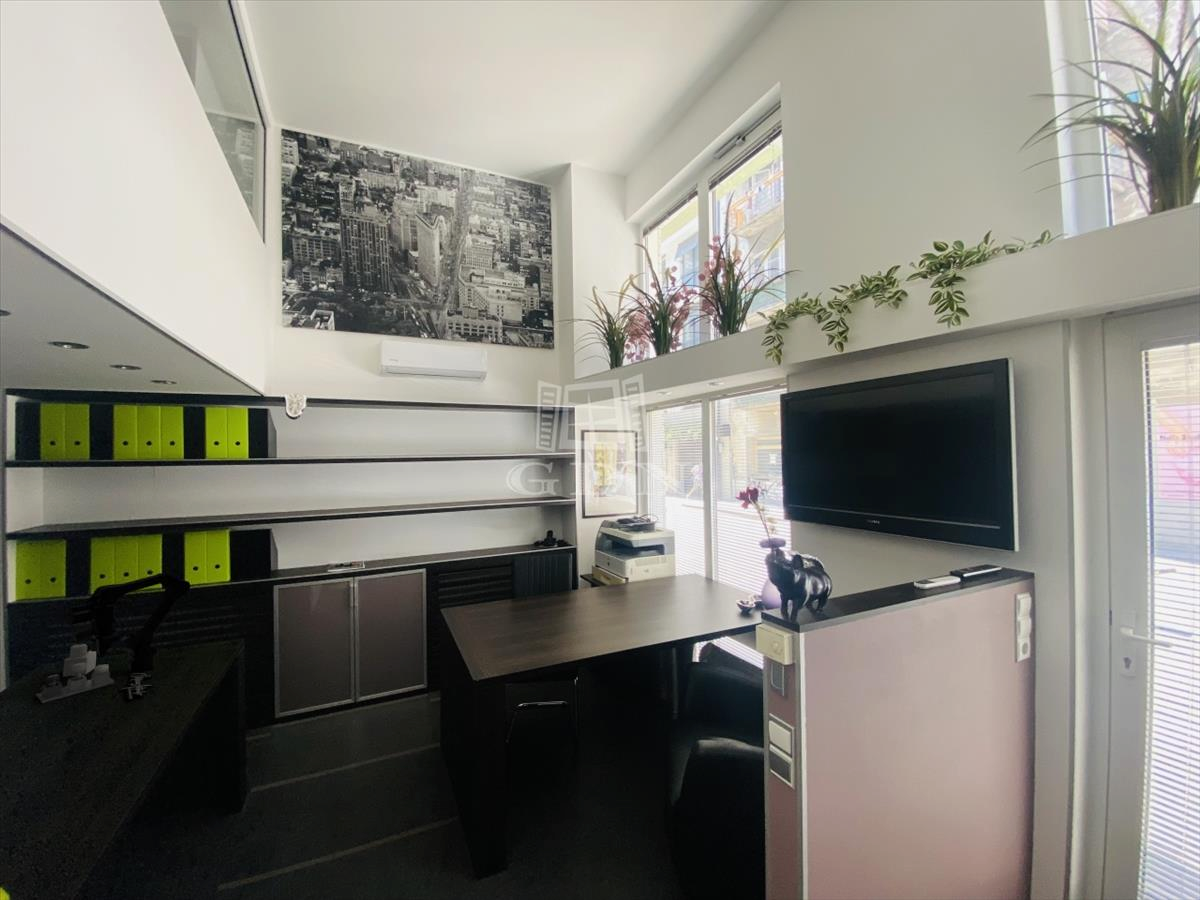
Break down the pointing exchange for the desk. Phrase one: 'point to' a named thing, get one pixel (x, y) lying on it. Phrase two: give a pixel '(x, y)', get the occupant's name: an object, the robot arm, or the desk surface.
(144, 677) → the nameplate
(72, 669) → the knob
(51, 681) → the pot knob
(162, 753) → the desk surface
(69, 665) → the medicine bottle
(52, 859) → the desk surface
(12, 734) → the desk surface
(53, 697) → the mount strip
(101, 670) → the knob
